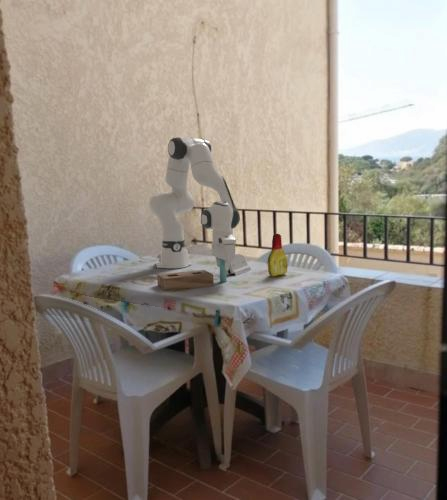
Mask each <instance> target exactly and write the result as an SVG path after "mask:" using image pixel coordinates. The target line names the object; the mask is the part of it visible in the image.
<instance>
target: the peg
mask: <svg viewBox="0 0 447 500" xmlns="http://www.w3.org/2000/svg"><path fill="white" fill-rule="evenodd" d="M219 261H220V267H219V282H220V283H227V281H228V280H227V279H228V278H227V273H226V270H225V269H224V266H225V260H223V259H220V258H219Z"/></svg>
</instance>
